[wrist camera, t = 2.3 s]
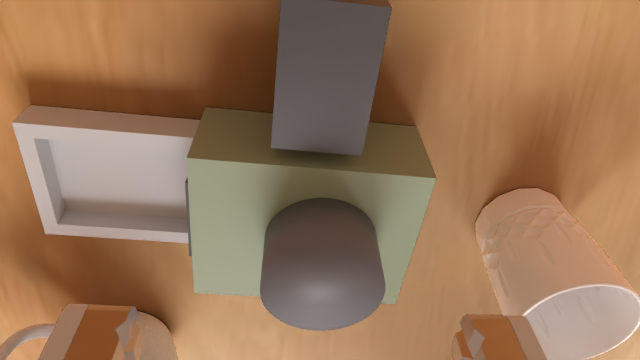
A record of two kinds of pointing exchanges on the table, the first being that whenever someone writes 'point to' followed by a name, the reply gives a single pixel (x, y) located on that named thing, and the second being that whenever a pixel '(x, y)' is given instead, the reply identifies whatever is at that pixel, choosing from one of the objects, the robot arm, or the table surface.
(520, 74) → the table surface
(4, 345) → the mug
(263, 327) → the table surface
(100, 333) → the robot arm
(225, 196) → the green box with dome
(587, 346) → the white cup
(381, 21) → the tall grey rectangular block
